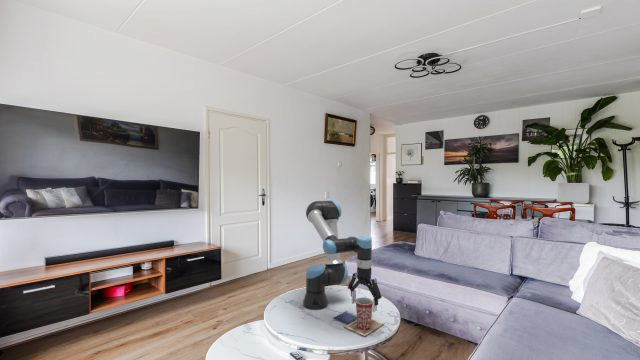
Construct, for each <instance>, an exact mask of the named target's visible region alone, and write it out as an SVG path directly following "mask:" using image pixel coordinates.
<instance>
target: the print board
mask: <svg viewBox="0 0 640 360" xmlns="http://www.w3.org/2000/svg"><path fill="white" fill-rule="evenodd" d="M384 325H385V323H382V322H380V321H377V320H375V319H373V318H372V319H371V328H370V329H368V330H362V329H359V328H358V327H357V320H356V321H354V322H352V323H350V324H348V325H345V326H344V329H345V330H348V331H350V332H352V333H354V334H357V335H359V336H361V337H363V338H366V337H368V336H369V335H371V334H373V333H375V332H376V331H377V330H379V329H380V328H382V327H384Z"/></svg>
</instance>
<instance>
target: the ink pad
mask: <svg viewBox="0 0 640 360" xmlns="http://www.w3.org/2000/svg"><path fill="white" fill-rule="evenodd" d="M333 320H335V321H338V322H340V323H342V324H344V325H345V326H347V325H349V324H350V323H352V322H354V321H356V320H357V315H354V314H351V313H349V312H347V311H344V312H342V313H339V314H337V315H336V316H333Z"/></svg>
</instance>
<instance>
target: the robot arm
mask: <svg viewBox="0 0 640 360" xmlns="http://www.w3.org/2000/svg"><path fill="white" fill-rule="evenodd" d="M341 216H342V207H341V205H340V203H339V202H338V201H336V200H315V201H312V202H311V203H309V204H308V206H307V207H306V209H305V217H306V219H307V220H308V221H309V223H312V225H313V227H314V229H315V230H316V232H317V233H318V235H319V237H320V238H321V240H322V249H323V253H325V254H326V260H327V261H326V262H325V265H323V264H314V265H311V266H309V267H307V269H306V271H305V273H306V274H305V295H304V299H303V301H302V303H303V307H304V308H305V309H308V310H314V311H315V310H322V309H325V308H327V307H328V305H329V304H328V298H327V295H326V291H325V290H326V289H325V288H326V287H331V286H339V285H342V284H345V283H346V282H347V280H348V277H349V270H348V268H347V266H346V265H345V264H344V261H343V260H342V259H341V254H342V253H351V252H354V253H356V266H357V267H356V272H354V273H352V275H351V276H352V277H351V279H350V281H349V284H348V286H347V289H348V290H350V297H351V304H352V305H354V304H356V299H357V291H356V289H357V287H358V286H359V285H362V286H364V287H365V286H366V288H367V289H368V290H369V292H370V294H371V297H373V299H372V300H373V305H372V313H375V312H376V311H377V310H378V305H379V300H380V299H381V300H382V298H383V297H382V294H381V290H380V288H379V286H378V281H377V278H372V265H373V264H372V252H373V251H372V250H373V249H372V248H373V245H372V243H373V242H372V238H371V237H369V236H359V237H356V236H351V235H349V236H347V237H346V238H339V233H338V232H339V230H338V222H339V220H340V217H341Z"/></svg>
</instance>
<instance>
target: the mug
mask: <svg viewBox="0 0 640 360" xmlns="http://www.w3.org/2000/svg"><path fill="white" fill-rule="evenodd" d="M355 305H356V306H355V312H356V317H357V327H358V328H359V329H362V330H368V329H370V328H371V319H373V318H372V317H373V299H371V298H369V297H358V298H357V297H356V303H355Z"/></svg>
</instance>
